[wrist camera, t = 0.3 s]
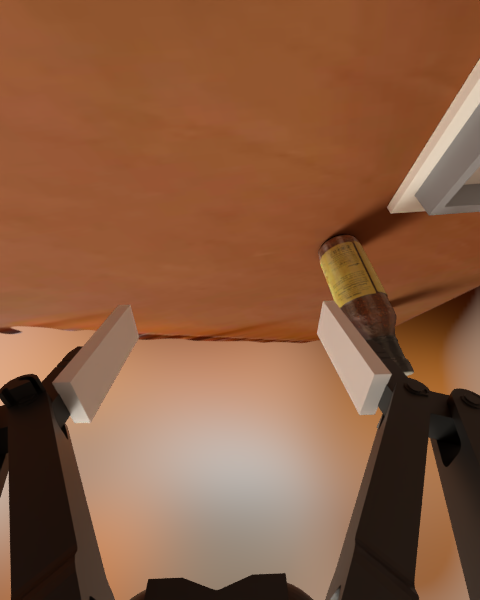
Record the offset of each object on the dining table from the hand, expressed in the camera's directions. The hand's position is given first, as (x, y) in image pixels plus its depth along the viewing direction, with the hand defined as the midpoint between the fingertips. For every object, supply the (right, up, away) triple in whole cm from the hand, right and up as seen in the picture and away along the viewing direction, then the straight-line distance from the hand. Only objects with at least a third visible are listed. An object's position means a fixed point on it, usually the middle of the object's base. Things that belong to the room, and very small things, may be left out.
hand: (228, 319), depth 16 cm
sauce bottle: (+16, +10, +20) cm, 28 cm away
